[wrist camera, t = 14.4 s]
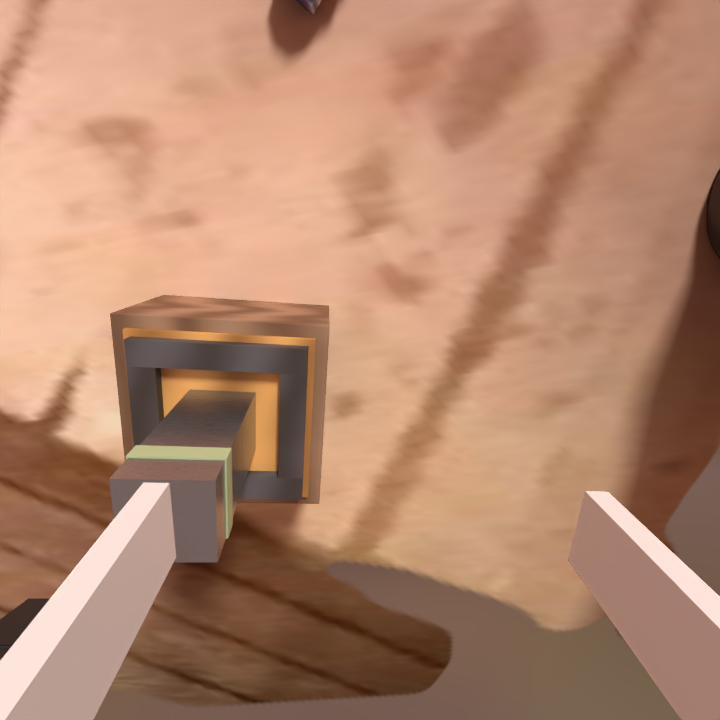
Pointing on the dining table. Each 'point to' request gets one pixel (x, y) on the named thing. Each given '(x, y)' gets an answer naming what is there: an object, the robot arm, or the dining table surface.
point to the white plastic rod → (310, 4)
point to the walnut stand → (232, 378)
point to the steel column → (196, 467)
